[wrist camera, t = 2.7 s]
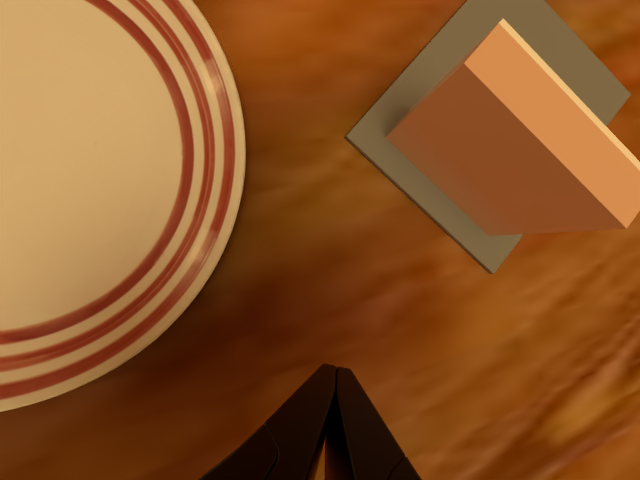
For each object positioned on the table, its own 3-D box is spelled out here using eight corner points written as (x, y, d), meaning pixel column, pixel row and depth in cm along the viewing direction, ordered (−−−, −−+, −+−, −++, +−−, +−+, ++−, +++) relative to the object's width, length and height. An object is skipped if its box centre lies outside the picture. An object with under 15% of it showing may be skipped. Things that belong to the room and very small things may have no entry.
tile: (488, 236, 23) (626, 228, 14) (385, 137, 22) (463, 63, 13) (511, 206, 23) (660, 181, 15) (410, 108, 22) (503, 17, 14)
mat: (489, 273, 23) (493, 273, 23) (344, 137, 22) (346, 135, 22) (625, 96, 26) (631, 94, 25) (501, -38, 24) (505, -43, 24)
